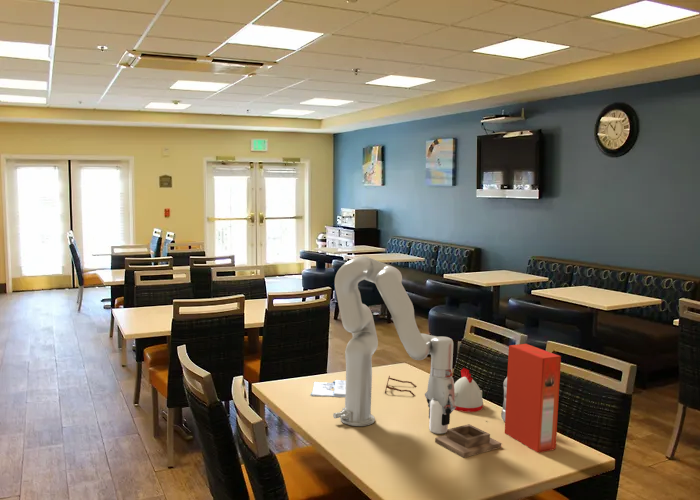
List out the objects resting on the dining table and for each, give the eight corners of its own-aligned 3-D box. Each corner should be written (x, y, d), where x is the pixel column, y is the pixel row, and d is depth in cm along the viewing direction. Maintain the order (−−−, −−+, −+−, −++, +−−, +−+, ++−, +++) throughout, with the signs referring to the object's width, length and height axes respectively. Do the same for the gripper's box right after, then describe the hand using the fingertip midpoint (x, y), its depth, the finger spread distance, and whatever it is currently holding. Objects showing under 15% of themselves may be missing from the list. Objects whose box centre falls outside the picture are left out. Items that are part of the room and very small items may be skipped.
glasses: (386, 385, 270) (387, 374, 269) (416, 387, 268) (417, 376, 268) (384, 394, 257) (384, 383, 257) (415, 397, 255) (416, 385, 255)
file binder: (536, 452, 203) (542, 358, 200) (503, 433, 218) (508, 345, 215) (555, 449, 206) (561, 356, 203) (522, 430, 222) (527, 343, 219)
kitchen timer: (471, 398, 254) (473, 363, 253) (489, 410, 241) (491, 373, 240) (441, 401, 250) (443, 365, 249) (457, 413, 237) (459, 375, 236)
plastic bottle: (498, 418, 233) (501, 367, 231) (515, 418, 233) (518, 367, 231) (504, 425, 226) (507, 372, 224) (521, 425, 227) (525, 372, 225)
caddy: (463, 457, 197) (464, 444, 197) (435, 442, 209) (435, 429, 208) (501, 447, 206) (501, 434, 206) (471, 432, 218) (472, 420, 217)
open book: (358, 399, 251) (359, 394, 251) (309, 397, 251) (309, 392, 251) (358, 384, 270) (358, 379, 270) (312, 383, 270) (313, 378, 270)
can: (447, 435, 215) (448, 401, 214) (428, 433, 216) (430, 400, 215) (447, 428, 221) (449, 396, 220) (429, 426, 222) (431, 394, 221)
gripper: (466, 377, 211) (463, 427, 213) (433, 364, 226) (431, 411, 228) (449, 380, 207) (447, 431, 209) (417, 367, 222) (415, 415, 223)
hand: (439, 420), depth 218 cm, fingers closed on can, 6 cm apart
